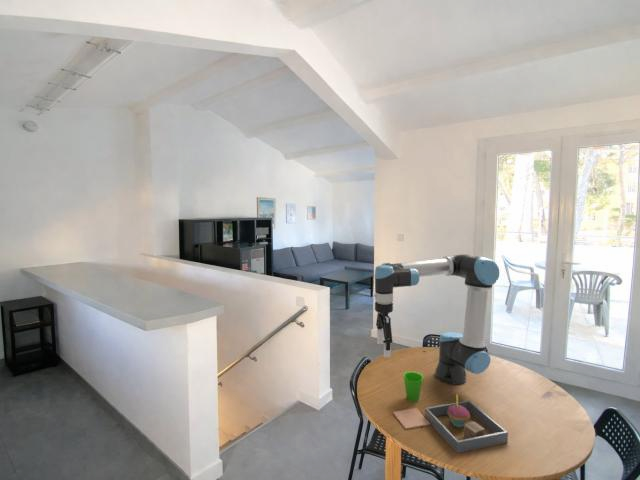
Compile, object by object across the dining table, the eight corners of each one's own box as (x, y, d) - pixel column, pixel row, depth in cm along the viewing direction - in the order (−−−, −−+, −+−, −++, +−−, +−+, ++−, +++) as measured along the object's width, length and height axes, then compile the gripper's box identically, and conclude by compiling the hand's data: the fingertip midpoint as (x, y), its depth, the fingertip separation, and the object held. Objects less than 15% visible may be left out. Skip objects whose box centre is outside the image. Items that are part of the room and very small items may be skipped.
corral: (468, 409, 149) (469, 400, 148) (507, 442, 128) (507, 432, 127) (424, 416, 143) (425, 407, 143) (457, 452, 123) (457, 442, 122)
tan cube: (473, 433, 133) (473, 421, 133) (484, 441, 129) (484, 428, 128) (463, 436, 131) (464, 424, 130) (474, 445, 126) (475, 432, 126)
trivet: (416, 409, 149) (416, 408, 149) (430, 425, 138) (430, 423, 138) (393, 413, 146) (393, 411, 146) (405, 429, 135) (405, 428, 135)
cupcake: (443, 417, 143) (444, 390, 142) (462, 416, 144) (463, 389, 142) (453, 431, 134) (454, 402, 133) (473, 429, 135) (474, 401, 134)
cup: (423, 405, 151) (424, 382, 150) (402, 403, 153) (403, 380, 152) (422, 394, 160) (422, 372, 159) (402, 392, 162) (402, 370, 161)
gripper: (369, 294, 157) (369, 338, 159) (381, 311, 132) (381, 363, 134) (385, 294, 157) (385, 338, 159) (400, 310, 132) (400, 362, 135)
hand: (383, 349), depth 147 cm, fingers open, 13 cm apart
